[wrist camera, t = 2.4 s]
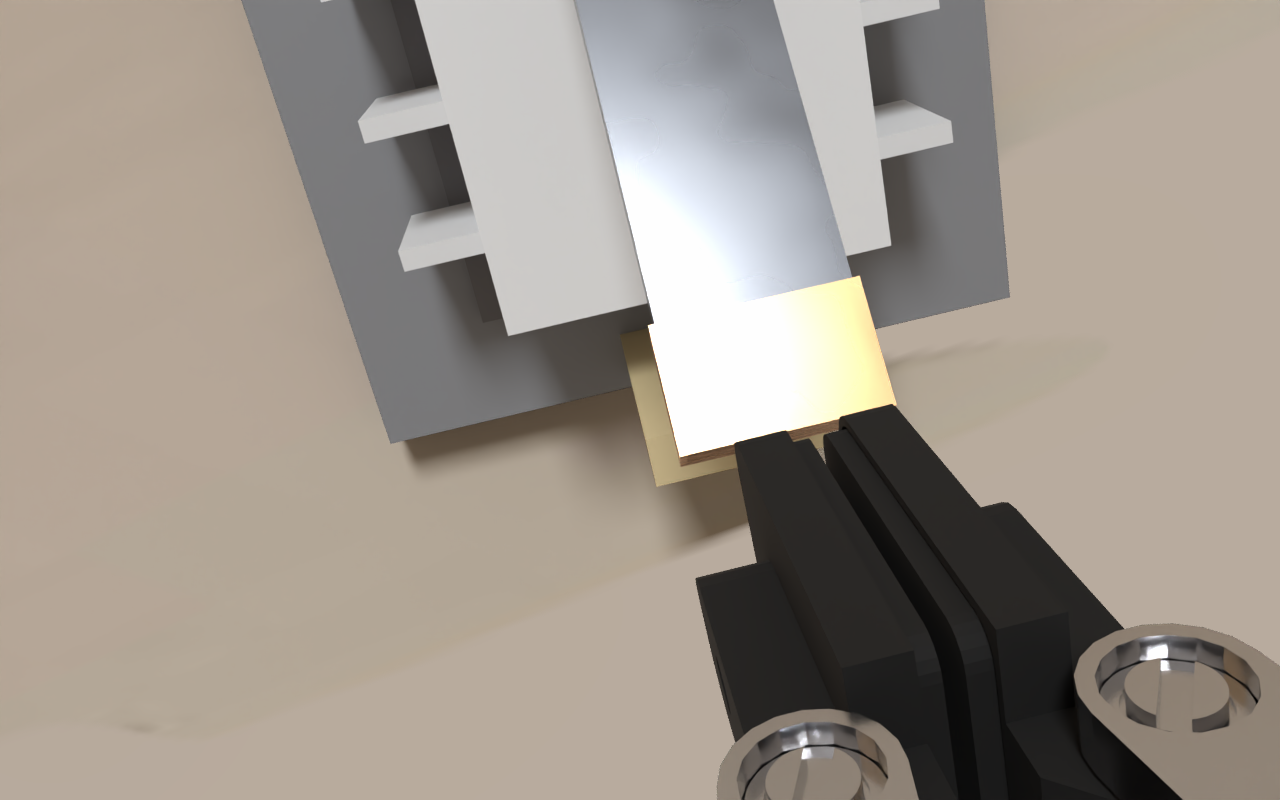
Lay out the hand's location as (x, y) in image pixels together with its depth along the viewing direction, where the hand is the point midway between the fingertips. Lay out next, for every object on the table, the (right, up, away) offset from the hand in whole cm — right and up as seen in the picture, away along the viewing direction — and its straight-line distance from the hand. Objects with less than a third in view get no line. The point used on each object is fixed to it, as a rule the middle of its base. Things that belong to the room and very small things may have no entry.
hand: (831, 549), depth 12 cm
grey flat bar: (-2, +8, +7) cm, 11 cm away
